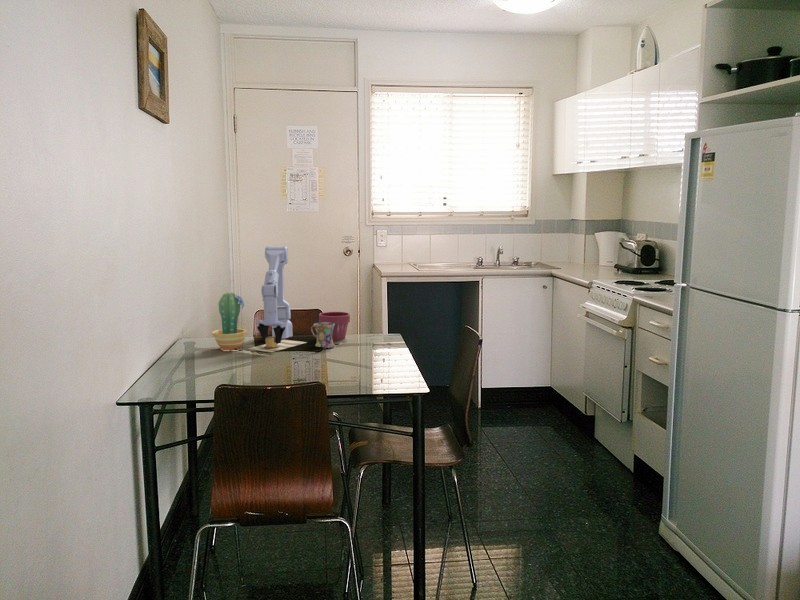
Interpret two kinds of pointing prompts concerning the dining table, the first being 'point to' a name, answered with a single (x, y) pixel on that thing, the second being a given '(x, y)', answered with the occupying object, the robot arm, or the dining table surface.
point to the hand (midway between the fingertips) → (271, 342)
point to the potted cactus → (230, 323)
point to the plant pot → (336, 323)
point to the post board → (282, 345)
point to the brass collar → (271, 342)
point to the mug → (324, 334)
